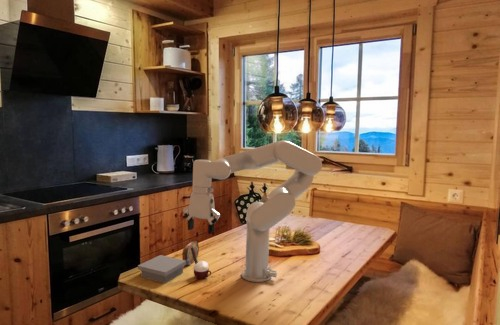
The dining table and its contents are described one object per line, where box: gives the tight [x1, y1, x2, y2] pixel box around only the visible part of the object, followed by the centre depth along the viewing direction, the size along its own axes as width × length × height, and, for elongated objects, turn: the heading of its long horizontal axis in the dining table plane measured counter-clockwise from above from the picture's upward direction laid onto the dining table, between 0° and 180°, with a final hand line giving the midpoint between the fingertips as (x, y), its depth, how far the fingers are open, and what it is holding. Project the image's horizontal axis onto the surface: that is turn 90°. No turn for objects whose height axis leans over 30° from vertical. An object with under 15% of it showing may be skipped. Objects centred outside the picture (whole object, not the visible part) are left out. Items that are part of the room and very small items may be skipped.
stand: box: [137, 254, 187, 284], centre depth 151 cm, size 14×14×5 cm
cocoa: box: [191, 247, 212, 280], centre depth 150 cm, size 10×6×12 cm, turn 45°
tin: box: [181, 241, 200, 266], centre depth 167 cm, size 15×3×8 cm, turn 168°
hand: (200, 231), depth 148 cm, fingers open, 9 cm apart
